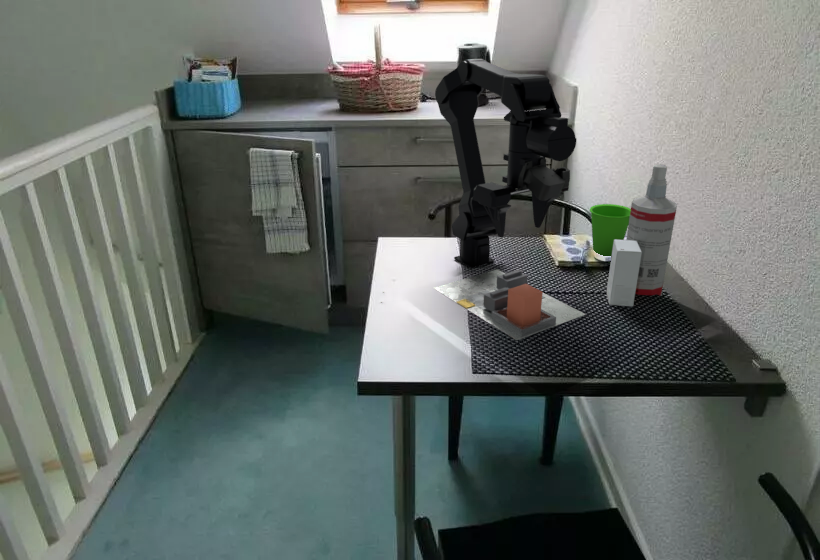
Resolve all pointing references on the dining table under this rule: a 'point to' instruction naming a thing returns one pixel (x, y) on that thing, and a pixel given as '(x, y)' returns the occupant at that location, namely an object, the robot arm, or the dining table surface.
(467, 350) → the dining table surface
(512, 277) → the toggle
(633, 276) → the skincare box
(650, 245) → the spray bottle
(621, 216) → the cup
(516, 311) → the orange-red rectangular block
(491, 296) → the toggle
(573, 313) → the panel
